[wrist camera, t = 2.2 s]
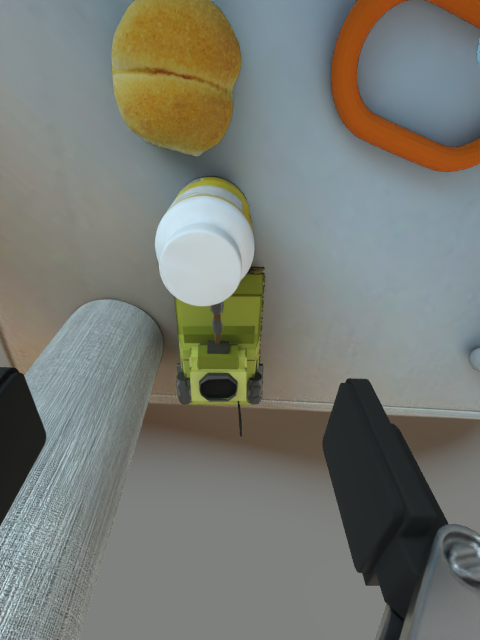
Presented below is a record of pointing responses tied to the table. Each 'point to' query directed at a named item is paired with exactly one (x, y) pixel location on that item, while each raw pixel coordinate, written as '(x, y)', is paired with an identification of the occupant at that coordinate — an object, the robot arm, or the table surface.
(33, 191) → the table surface
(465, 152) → the orange rounded loop
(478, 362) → the molecular model
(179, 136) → the bread roll
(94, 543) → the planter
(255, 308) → the toy tank
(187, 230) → the pill bottle
